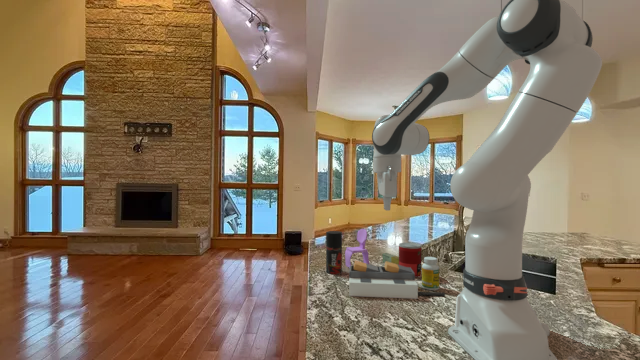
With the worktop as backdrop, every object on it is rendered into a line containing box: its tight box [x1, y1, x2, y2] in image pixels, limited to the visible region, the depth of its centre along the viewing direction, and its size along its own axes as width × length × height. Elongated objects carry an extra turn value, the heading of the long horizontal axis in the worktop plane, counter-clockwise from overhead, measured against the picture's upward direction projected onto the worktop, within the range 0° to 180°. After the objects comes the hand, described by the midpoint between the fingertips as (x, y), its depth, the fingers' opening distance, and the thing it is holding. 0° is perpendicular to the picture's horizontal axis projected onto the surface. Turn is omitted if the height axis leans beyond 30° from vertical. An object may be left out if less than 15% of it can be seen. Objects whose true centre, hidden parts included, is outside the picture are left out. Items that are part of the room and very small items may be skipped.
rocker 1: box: [383, 261, 411, 273], centre depth 100 cm, size 5×8×2 cm, turn 84°
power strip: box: [348, 265, 446, 300], centre depth 98 cm, size 12×28×6 cm, turn 84°
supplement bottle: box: [421, 256, 440, 291], centre depth 101 cm, size 5×5×10 cm
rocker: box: [353, 260, 379, 272], centre depth 101 cm, size 5×8×2 cm, turn 84°
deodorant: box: [325, 230, 343, 275], centre depth 118 cm, size 6×6×15 cm
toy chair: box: [344, 228, 371, 269], centre depth 125 cm, size 8×9×15 cm
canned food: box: [398, 242, 422, 278], centre depth 115 cm, size 8×8×11 cm
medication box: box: [381, 252, 399, 265], centre depth 128 cm, size 12×3×4 cm, turn 25°
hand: (387, 210), depth 101 cm, fingers closed
